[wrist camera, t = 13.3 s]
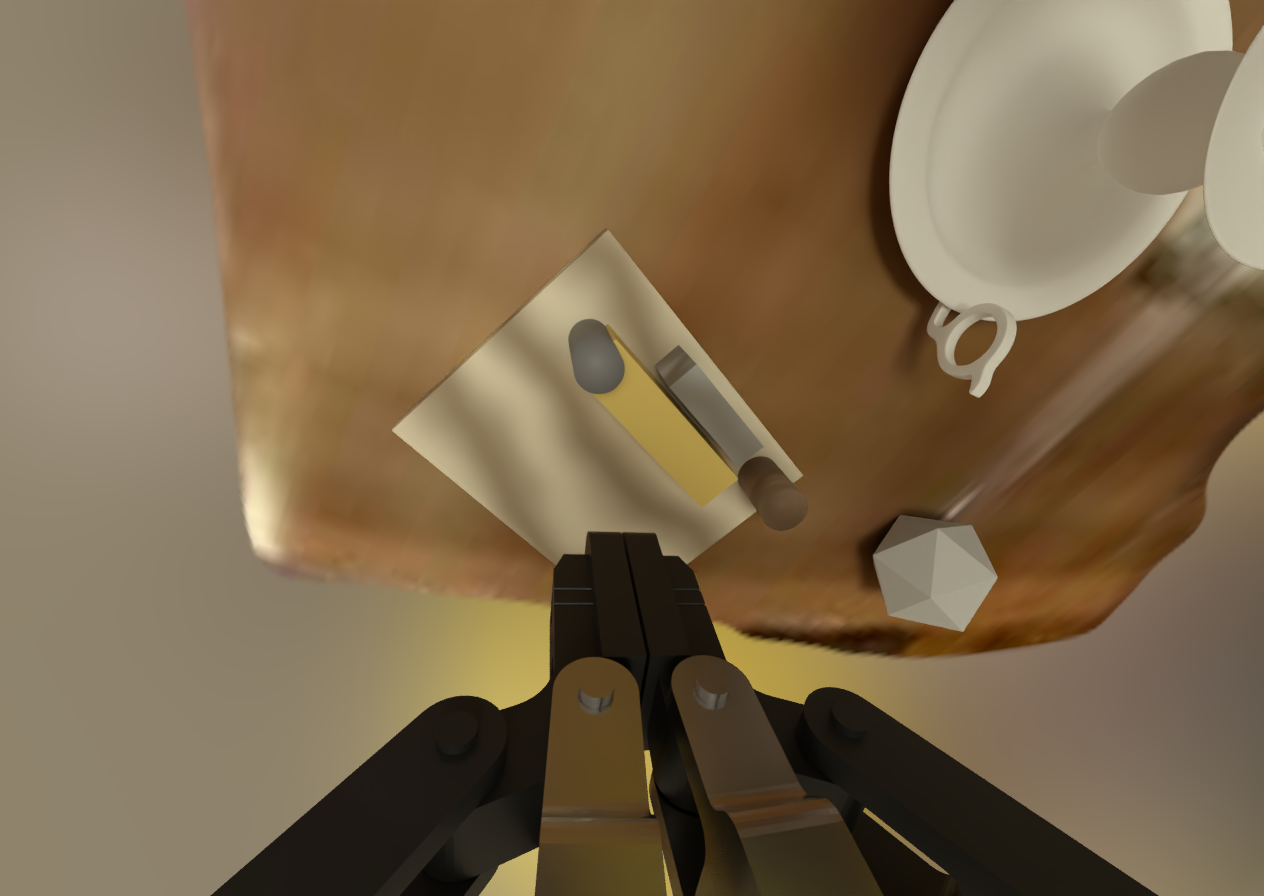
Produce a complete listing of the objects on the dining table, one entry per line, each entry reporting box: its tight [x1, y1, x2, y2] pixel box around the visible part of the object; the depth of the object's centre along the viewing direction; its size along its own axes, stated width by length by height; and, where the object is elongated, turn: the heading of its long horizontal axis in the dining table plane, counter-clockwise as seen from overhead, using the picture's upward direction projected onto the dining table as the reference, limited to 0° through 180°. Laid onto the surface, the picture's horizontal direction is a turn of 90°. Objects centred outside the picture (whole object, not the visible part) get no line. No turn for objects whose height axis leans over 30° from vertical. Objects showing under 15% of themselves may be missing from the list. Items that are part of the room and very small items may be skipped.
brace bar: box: [568, 319, 738, 508], centre depth 32 cm, size 13×3×6 cm, turn 40°
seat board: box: [392, 229, 808, 565], centre depth 35 cm, size 18×22×6 cm
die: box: [873, 515, 998, 632], centre depth 42 cm, size 8×9×10 cm
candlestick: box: [889, 0, 1264, 398], centre depth 22 cm, size 21×25×28 cm
